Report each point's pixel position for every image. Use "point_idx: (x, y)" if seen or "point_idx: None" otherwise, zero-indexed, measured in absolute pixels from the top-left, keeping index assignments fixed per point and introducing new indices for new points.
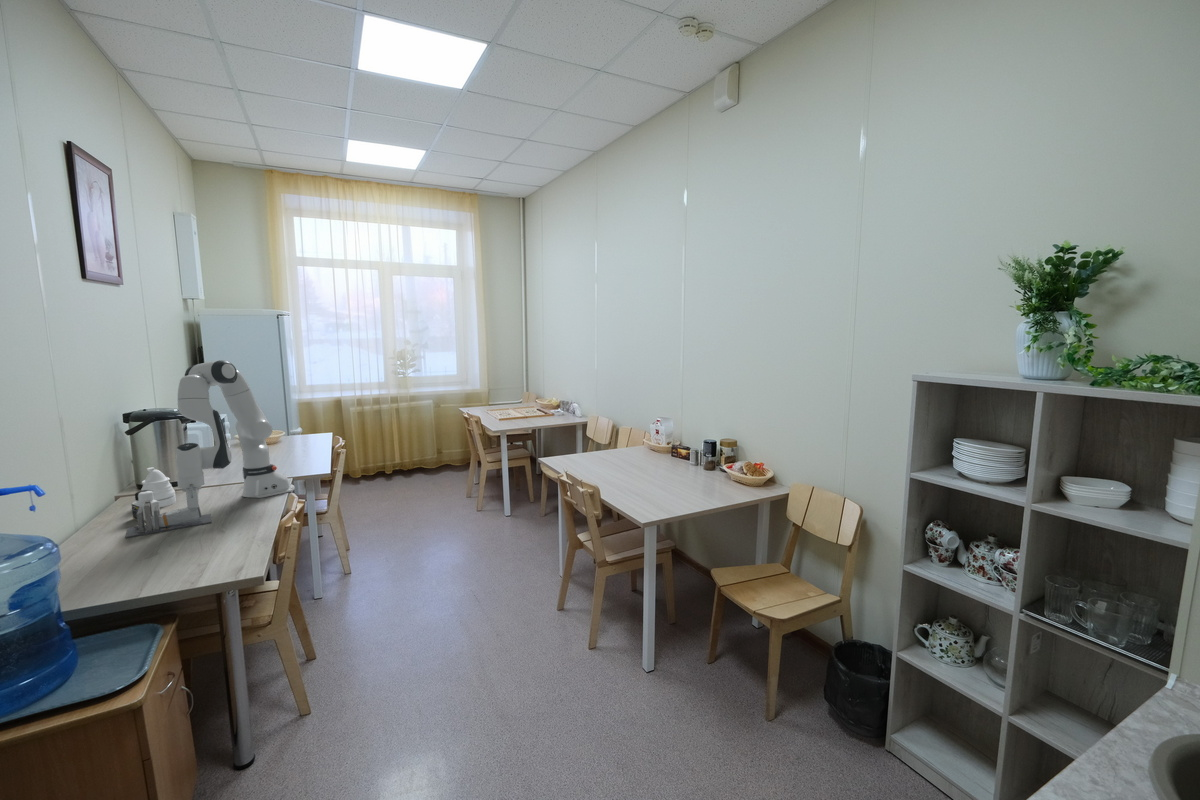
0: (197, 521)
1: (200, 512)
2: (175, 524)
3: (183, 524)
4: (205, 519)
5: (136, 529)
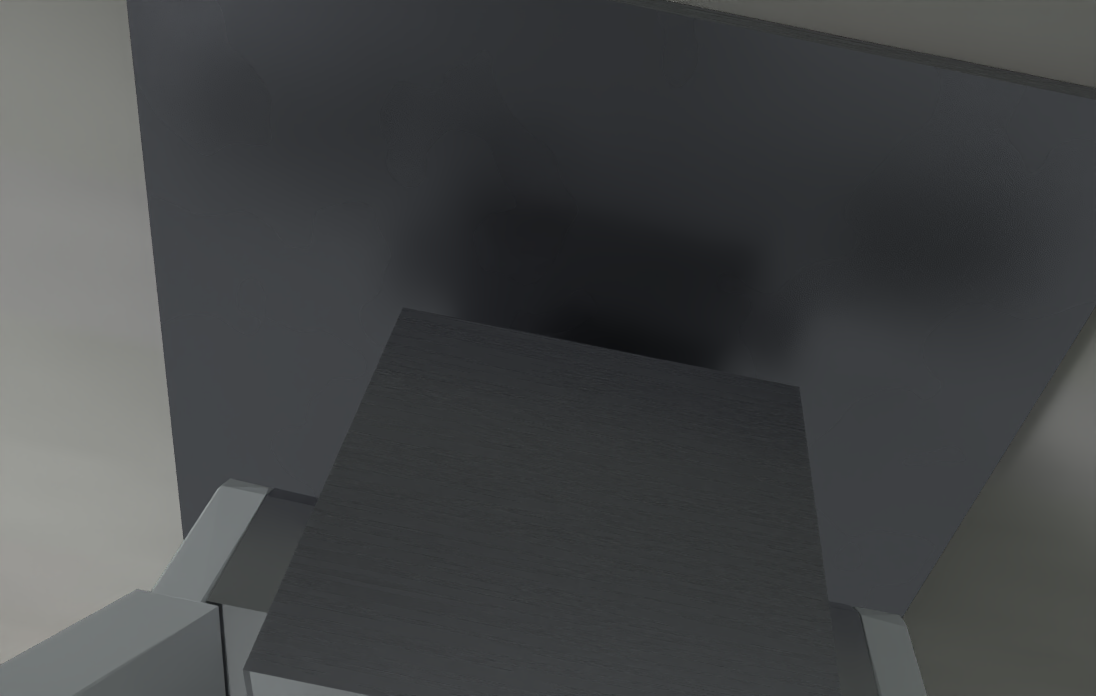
0: None
1: (735, 492)
2: None
3: None
4: (734, 202)
5: None
